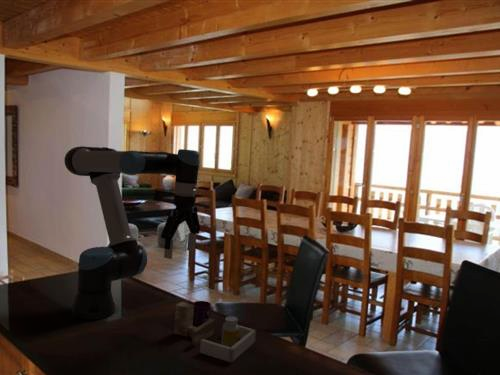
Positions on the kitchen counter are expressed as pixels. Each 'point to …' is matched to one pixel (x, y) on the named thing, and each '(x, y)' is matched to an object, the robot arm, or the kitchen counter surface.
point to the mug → (201, 312)
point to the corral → (229, 352)
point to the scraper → (191, 324)
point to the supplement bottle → (230, 331)
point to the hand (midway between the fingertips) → (179, 254)
